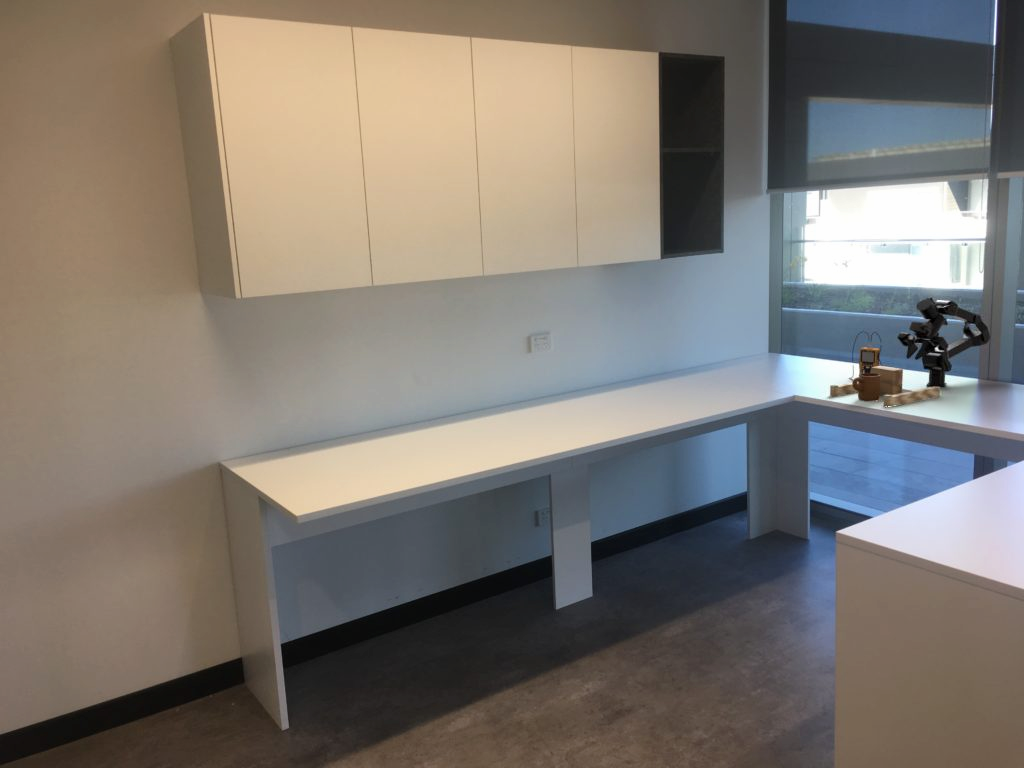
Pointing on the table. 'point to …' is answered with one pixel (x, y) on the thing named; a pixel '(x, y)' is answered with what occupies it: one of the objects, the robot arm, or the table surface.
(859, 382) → the mug
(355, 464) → the table surface
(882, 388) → the wooden block
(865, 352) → the multimeter
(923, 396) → the channel
